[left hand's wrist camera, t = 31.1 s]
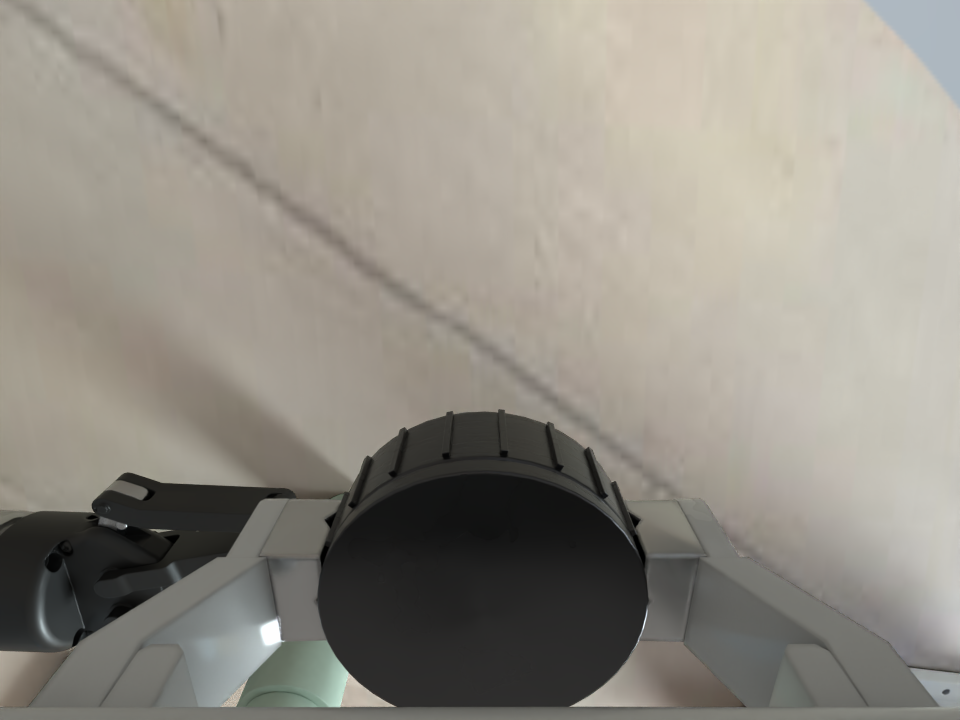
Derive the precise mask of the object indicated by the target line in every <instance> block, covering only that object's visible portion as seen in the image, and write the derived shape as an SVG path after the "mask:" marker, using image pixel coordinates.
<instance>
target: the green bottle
mask: <svg viewBox="0 0 960 720" xmlns="http://www.w3.org/2000/svg"><path fill="white" fill-rule="evenodd" d="M343 495H344V494H340V495H337V496H335V497H333V498H331V499H330V500H342V498H343ZM281 644H282V645H281V646H280V647H279V648H278V649H277V650H276V651H275V652H274V653H273V654H272V655H271V656H270V657H269V658H268V659H267V660H266V661H265V662H264V663H263V664H262V665H261V666H260V667H259V668H258V669H257V670H256V671H255V672H254V673H253V674H252V675H251V676H250V677H249V678H248V681H247V683H246V685H245V688H244V690H243V692H242V695H241V697H240V699H239V702H238V704H237V706H236V707H340V705H341V701H342V697H343V693H344V689H345V685H346V681H347V677H348V673H349V672H348V671H347V670H346V669H345V668H344V667H343V665H342V664H341V663H340V662H339V660H338V659H337V658H336V656H335V654H334V653H333V651H332V649H331V647H330V646H329V644H328V642H327V641H292V642H281Z"/></svg>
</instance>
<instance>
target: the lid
mask: <svg viewBox="0 0 960 720" xmlns="http://www.w3.org/2000/svg"><path fill="white" fill-rule="evenodd" d="M636 534H637V533H636V531H635V528H634V526H633V523H632V520H631V518H630V515H629V513H628V510H627V508H626V505H625V503H624V500H623V498H622V495H621V493H620V490H619V487H618V485H617V483H616V481H614V482H612V483H611V481H610V479H609V477H608V476H607V474H606V473H605V471H604V470H603V468H602V467H601V465H600V464H599V463H598V462H597V461H596V458H595V456H594V453H593V450H592V449H591V448H590V447H588V448H587V449H584V448H583V447H582V446H581V445H580V444H579V443H577V442H576V441H575V440H573V439H572V438H570V437H569V436H567V435H565V434H564V433H562V432H561V431H559V430H557V429H555V428H554V424H553V423H550V422H548V423H547V424H544V423H541V422H538V421H535V420H532V419H529V418H526V417H522V416H517V415H512V414H507V413H505V410H500V409H499V410H498V413H497V412H465V413H459V414H453V411H451V412H447V414H446V416H443V417H440V418H436V419H433V420H429V421H427V422H424V423H422V424H420V425H417V426H415V427H413V428H410V429H408V430H407V429H406V428H405V427H404V428H402V429H401V430H400V431H399V435H398V436H396V437H395V438H393V439H392V440H391V441H389V442H388V443H387V444H386V445H384V446H383V447H382V448H380V449H379V450H378V451H377V452H376V453H375V454H374V455H373V456H372V457H369V456H367V457H366V458H365V459H364V461H363V464H362V467H361V469H360V472H359V474H358V476H357V478H356V480H355V482H354V484H353V486H352V488H351V490H350V492H345V493H344V495H343V498H342V500H341V503H340V506H339V508H338V511H337V513H336V516H335V519H334V521H333V524H332V527H331V529H330V532H329V534H328V537H327V540H326V542H325V546H327V547H329V549H328V552H327V555H326V557H325V560H324V563H323V567H322V570H321V573H320V577H319V584H318V591H317V597H318V612H319V617H320V622H321V626H322V629H323V632H324V634H325V637H326V640H327V642H328V644H329V646H330V647H331V649H332V651H333V653H334V654H335V656H336V658H337V659H338V660H339V662H340V663H341V664H342V665H343V667H344V668H345V669H346V670H347V671H348V672H349V673H350V674H351V675H352V676H353V677H354V678H355V679H356V680H357V681H358V682H359V683H360V684H361V685H363V686H364V687H365V688H366V689H368V690H369V691H370V692H372V693H373V694H375V695H376V696H378V697H380V698H381V699H383V700H385V701H386V702H388V703H390V704H392V705H394V706H396V707H569V706H572V705H574V704H575V703H577V702H579V701H581V700H583V699H584V698H586V697H588V696H589V695H591V694H592V693H594V692H595V691H596V690H598V689H599V688H601V687H602V686H603V685H604V684H605V683H607V682H608V681H609V680H610V679H611V678H612V677H613V676H614V675H615V674H616V673H617V672H618V671H619V670H620V668H621V667H622V666H623V665H624V664H625V663H626V661H627V660H628V658H629V657H630V655H631V654H632V652H633V650H634V649H635V647H636V645H637V643H638V641H639V639H640V636H641V634H642V632H643V628H644V624H645V620H646V616H647V610H648V597H649V596H648V585H647V578H646V574H645V570H644V567H643V563H642V560H641V558H640V555H639V552H638V550H637V548H636V545H635V542H634V539H633V537H632V536H634V535H636Z"/></svg>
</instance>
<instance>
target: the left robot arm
mask: <svg viewBox="0 0 960 720" xmlns="http://www.w3.org/2000/svg"><path fill="white" fill-rule="evenodd" d="M340 503H341V500H329V499H264V500H262V501H260V502H259V503H258V505H257V507H256V508H255V510H254V512H253V513H252V515H251V517H250V518H249V520H248V521H247V523H246V525H245V526H244V528H243V530H242V531H241V533H240V535H239V536H238V538H237V540H236V541H235V543H234V544H233V546H232V548H231V549H230V551H229V553H228V554H227V556H226V557H217V558H215V559H214V560H212V561H211V562H209V563H207V564H206V565H204V566H202V567H201V568H199V569H197V570H196V571H194V572H193V573H191V574H189V575H188V576H186V577H184V578H183V579H181V580H179V581H178V582H176V583H175V584H173V585H171V586H170V587H168V588H166V589H165V590H163V591H162V592H160V593H158V594H157V595H155V596H153V597H152V598H150V599H148V600H147V601H145V602H144V603H142V604H140V605H139V606H137V607H135V608H134V609H132V610H130V611H129V612H127V613H126V614H124V615H122V616H121V617H119V618H117V619H116V620H114V621H112V622H111V623H109V624H108V625H106V626H104V627H103V628H101V629H99V630H98V631H96V632H95V633H93V634H91V635H90V636H88V637H86V638H85V639H83V640H81V641H80V642H79V643H78V644H77V646H76V647H75V648H74V649H73V651H72V652H71V653H70V654H69V656H68V657H67V658H66V659H65V661H64V662H63V663H62V665H61V666H60V667H59V668H58V670H57V671H56V672H55V673H54V675H53V676H52V677H51V678H50V680H49V681H48V682H47V683H46V685H45V686H44V687H43V688H42V690H41V691H40V692H39V693H38V695H37V696H36V697H35V698H34V700H33V701H32V702H31V703H30V705H29V706H28V707H0V720H960V673H952V672H943V671H934V670H926V669H917V668H909V667H908V666H907V665H906V664H905V662H904V661H903V660H902V659H901V657H900V656H899V655H898V654H897V652H896V651H895V650H894V649H893V647H892V646H891V645H890V644H889V642H887V641H885V640H884V639H882V638H880V637H879V636H877V635H875V634H874V633H872V632H870V631H869V630H867V629H866V628H864V627H862V626H861V625H859V624H857V623H856V622H854V621H852V620H851V619H849V618H847V617H846V616H844V615H843V614H841V613H839V612H838V611H836V610H834V609H833V608H831V607H829V606H828V605H826V604H824V603H823V602H821V601H819V600H818V599H816V598H815V597H813V596H811V595H810V594H808V593H806V592H805V591H803V590H801V589H800V588H798V587H796V586H795V585H793V584H792V583H790V582H788V581H787V580H785V579H783V578H782V577H780V576H778V575H777V574H775V573H773V572H772V571H770V570H769V569H767V568H765V567H764V566H762V565H760V564H759V563H757V562H755V561H754V560H752V559H750V558H749V557H740V556H739V555H738V553H737V552H736V550H735V548H734V547H733V545H732V544H731V542H730V540H729V539H728V537H727V536H726V534H725V533H724V531H723V529H722V528H721V526H720V525H719V523H718V521H717V520H716V518H715V517H714V515H713V513H712V512H711V510H710V509H709V507H708V505H707V504H706V502H705V501H704V500H702V499H700V498H693V499H673V500H624V503H625V505H626V508H627V510H628V513H629V515H630V518H631V520H632V523H633V526H634V528H635V531H636V533H637V534H636V535H634V536H632V537H633V539H634V542H635V545H636V548H637V550H638V552H639V555H640V558H641V560H642V563H643V567H644V570H645V574H646V578H647V585H648V596H649V597H648V610H647V616H646V620H645V624H644V628H643V632H642V634H641V636H640V639H639V641H673V642H684V645H685V646H686V647H687V648H688V649H689V650H690V651H691V652H692V653H693V654H694V655H695V656H696V657H697V658H698V659H699V660H700V661H701V662H702V663H703V664H704V665H705V666H706V667H707V668H708V669H709V670H710V671H711V672H712V673H713V674H714V675H715V676H716V677H717V678H718V679H719V680H720V681H721V682H722V683H723V684H724V685H725V686H726V687H727V688H728V689H729V690H730V691H731V692H732V693H733V694H734V695H735V696H736V697H737V698H738V699H739V700H740V701H741V702H742V703H743V704H744V705H745V706H746V707H220V706H221V705H222V704H223V703H224V702H225V701H226V700H227V699H228V698H229V697H230V696H231V695H232V694H233V693H234V692H235V691H236V690H237V689H238V688H239V687H240V686H241V685H242V684H243V683H244V682H245V681H246V680H247V679H248V678H249V677H250V676H251V675H252V674H253V673H254V672H255V671H256V670H257V669H258V668H259V667H260V666H261V665H262V664H263V663H264V662H265V661H266V660H267V659H268V658H269V657H270V656H271V655H272V654H273V653H274V652H275V651H276V650H277V649H278V648H279V647H280V646H281V645H282V644H281V642H292V641H327V640H326V637H325V634H324V632H323V629H322V626H321V622H320V617H319V612H318V597H317V591H318V584H319V577H320V573H321V570H322V567H323V563H324V560H325V557H326V555H327V552H328V549H329V547H327V546H325V542H326V540H327V537H328V534H329V532H330V529H331V527H332V524H333V521H334V519H335V516H336V513H337V511H338V508H339V506H340Z"/></svg>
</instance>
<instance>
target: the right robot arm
mask: <svg viewBox="0 0 960 720" xmlns="http://www.w3.org/2000/svg"><path fill="white" fill-rule="evenodd" d="M264 499H296V496H295V494H294V493H293V491H291V490H289V489H284V488H261V487H238V486H215V485H193V484H170V483H160V482H157V481H154V480H151V479H148V478H145V477H142V476H139V475H136V474H133V473H124V474H122V475H121V476H120V477H119V478H118V479H117V480H116V481H114V482H113V483H112V484H111V485H110V486H109V487H108V488H107V489H106V490H105V491H104V492H103V493H102V494H100V495H99V496H98V497H97V498H96V499H95V500H94V501H93V503H92V509H93V511H94V512H95V513H87V512H56V511H40V512H35V513H34V512H28V511H11V510H0V651H23V652H60V651H64V650H67V649H70V648H72V647H74V646H76V645H77V644H78V643H79V642H80V641H81V640H83V639H85V638H86V637H88V636H90V635H91V634H93V633H95V632H96V631H98V630H99V629H101V628H103V627H104V626H106V625H108V624H109V623H111V622H112V621H114V620H116V619H117V618H119V617H121V616H122V615H124V614H126V613H127V612H129V611H130V610H132V609H134V608H135V607H137V606H139V605H140V604H142V603H144V602H145V601H147V600H148V599H150V598H152V597H153V596H155V595H157V594H158V593H160V592H162V591H163V590H165V589H166V588H168V587H170V586H171V585H173V584H175V583H176V582H178V581H179V580H181V579H183V578H184V577H186V576H188V575H189V574H191V573H193V572H194V571H196V570H197V569H199V568H201V567H202V566H204V565H206V564H207V563H209V562H211V561H212V560H214V559H215V558H217V557H226V556H227V554H228V553H229V551H230V549H231V548H232V546H233V544H234V543H235V541H236V540H237V538H238V536H239V535H240V533H241V531H242V530H243V528H244V526H245V525H246V523H247V521H248V520H249V518H250V517H251V515H252V513H253V512H254V510H255V508H256V507H257V505H258V503H259V502H260V501H262V500H264ZM150 529H165V530H173V531H167V532H160V533H158V532H156V531H151V530H150Z"/></svg>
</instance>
